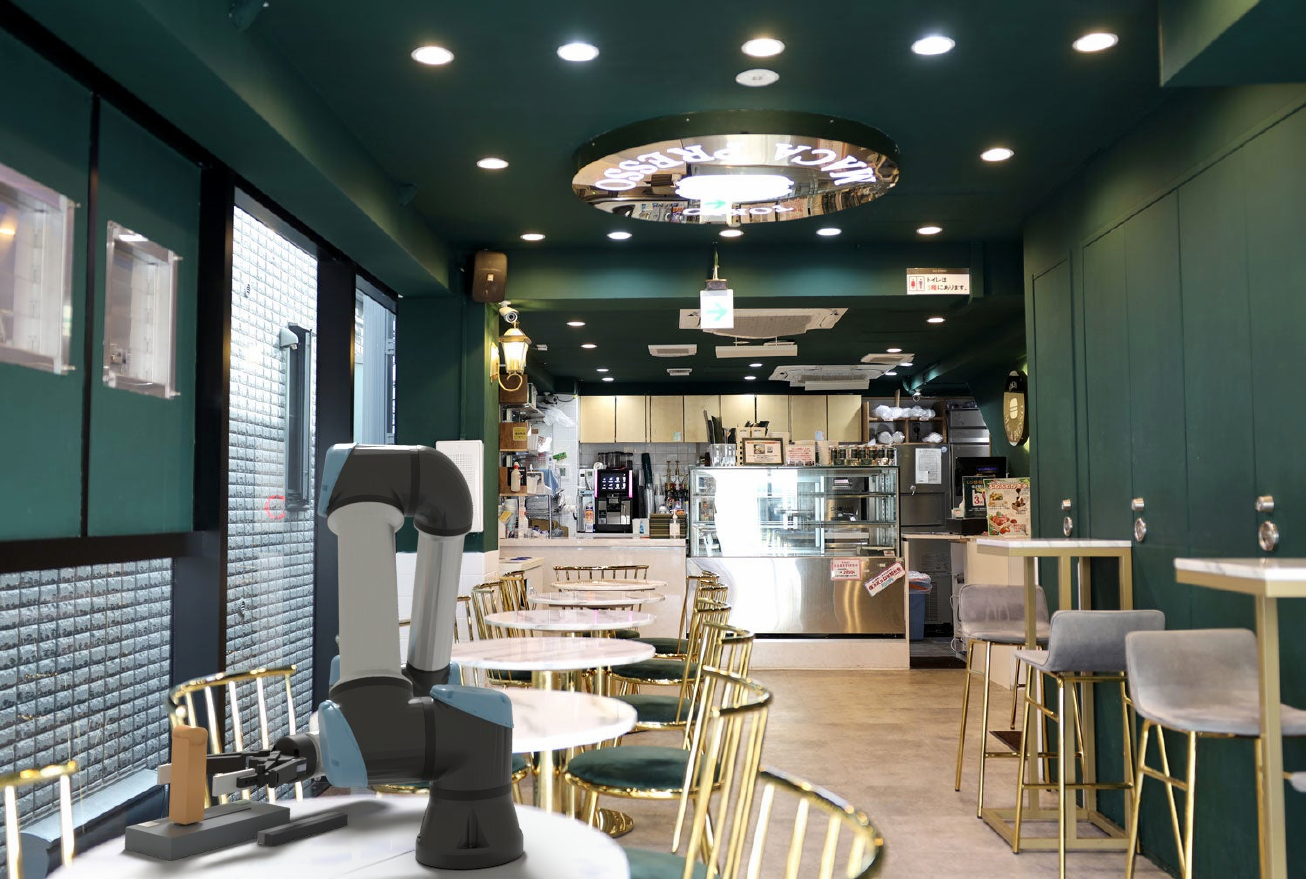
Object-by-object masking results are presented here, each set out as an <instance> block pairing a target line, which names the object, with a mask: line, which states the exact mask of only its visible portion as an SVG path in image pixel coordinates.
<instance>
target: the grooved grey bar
mask: <svg viewBox="0 0 1306 879" xmlns="http://www.w3.org/2000/svg"><path fill="white" fill-rule="evenodd" d="M348 822H349V815H348V814H347V813H344V812H336V811H330V812H325V813H323V814H318V815H315V816H311V817H308V818H304V819H300V820H296V821H292V822H290V823H288V824H285V825H281V826H277V827H274V828H270V829H266V830H262V831H259V832H258V835H257V837H256V838H257V839H256V841H257V842H256V843H257V844H260V845H263V846H264V845H265V846H268V847H272V848H273V847H276V846H279V845H283V844H286V843H289V842H293V841H297V840H301V839H303V838H307V837H310V836H314V835H317V834H321V833H325V832H328V831H331V830H335V829H339V828H342V827H345V826H348V824H349V823H348Z"/></svg>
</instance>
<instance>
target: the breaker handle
mask: <svg viewBox="0 0 1306 879" xmlns="http://www.w3.org/2000/svg"><path fill="white" fill-rule="evenodd" d="M208 739H209V732H208V730H207V729H206V728H205V727H202V726H196V725H195V726H193V725H187V724H178V725H176V726H175V727H174V728H173V729H172V732H171V740H172V741H171V762H170V764H171V782H170V783H169V784H170V785H169V786H170V788H169V804H168V806H169V808H168V810H169V811H168V817H169V821H172V822H176V823H181V824H185V825H186V824H190V823H194V822H198V821H202V820H204V809H205V806H206V805H205V804H206V803H205V802H206V781H207V780H206V779H207V774H206V758H207V755H208V754H207V752H208Z"/></svg>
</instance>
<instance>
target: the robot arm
mask: <svg viewBox="0 0 1306 879" xmlns="http://www.w3.org/2000/svg"><path fill="white" fill-rule="evenodd" d="M318 498H319V500H318V505H317V515H318V516H320V517H322V518H324V519H325V518H327V527H328V529H329V530H330V531H331V532H332V533H333V534H335V535H336V536H337V561H338V563H337V564H338V565H337V566H338V569H337V571H338V579H337V580H338V622H339V623H338V636H339V637H338V638H339V642H338V643H339V648H338V649H339V654H338V655H335V656H334V657H333V658H332V660H331V663H330V674H329V681H328V682H329V683H328V685H329V689H328V690H329V691H328V700H327V699H326V700H325V701H323V702H321V703H320V704H319V705H318V709H317V723H318V729H315V730H311V731H306V732H301V733H295V734H291V735H285V736H284V735H283V736H282V737H280V738H279V739H278V740H276V741H275V743H274V745H273V746H272V748H270V749H269V748H265V749H264V748H263V749H260V750H258V751H257V749H255V748H251V749H248V750H240V751H234V752H233V751H232V752H223V753H222V752H220V753H211V754H209V753H208V754H207V758H206V775H213V776H212V791H211V792H212V793H211V794H212V795H211V796H212V797H218V796H219V797H220V796H224V795H229V794H232V793H233V794H234V793H237V792H240V791H242V792H243V791H246V790H251V789H255V786H256V788H260V789H262V788H265V787H266V786H267V788H269V789H274V788H277V787H279V786H281V785H283V784H285V785H292V784H296V783H301V782H304V781H307V780H310V779H314V781H320V780H321V778H322V777H323V776H324V777H326V779H327V781H328V782H329V784H330V785H332V786H333V787H335V788H339V789H343V788H346V789H347V788H360V789H362V790H363V789H366V788H367V787H368V788H370V787H380V786H391V785H401V784H402V785H403V784H415V783H426V782H427V783H428V782H429V784H428V785H429V792H428V793H429V795H428V802H427V806H426V808H425V810H424V816H423V819H422V822H421V825H420V830H419V833H418V834H417V835H416V839H415V853H414V854H415V859H416V860H417V861H418V862H419V863H421V864H423V865H426V866H430V867H434V868H440V869H449V870H455V869H456V870H463V869H464V870H467V869H469V870H470V869H481V868H487V867H488V868H489V867H494V866H498V865H499V866H500V865H503V864H506V863H510V862H512V861H515V860H516V859H518V858H520V857H521V856H522V855H523V854H524V844H525V842H524V839H525V838H524V834H523V833H524V832H523V830H522V829H521V828H520V827H521V826H520V823H519V819H518V815H517V811H516V806H515V804H514V800H513V786H512V785H513V784H512V783H513V734H514V732H513V729H514V727H515V724H514V717H513V716H514V715H513V706H512V705H513V704H512V700H511V698H510V696H508V695H507V694H506V693H504V692H502V691H500V690H496V689H492V688H491V689H490V688H487V687H486V688H485V687H481V686H472V685H464V684H463V685H462V684H461V681H462V675H461V669H460V665H459V663H458V662H456V661H451V657H452V648H453V641H454V640H453V639H454V632H455V625H456V624H455V623H456V615H457V614H456V613H457V606H458V605H457V604H458V597H459V590H460V589H459V588H460V581H461V580H460V579H461V570H462V564H463V563H462V562H463V555H464V554H463V552H464V545H465V537H466V535H468V534H469V533H470V532H471V531H472V528H473V519H474V503H473V499H472V493H471V490H470V488H469V485H468V482H467V480H466V478H465V476H464V474H463V473H462V472H461V470H460V468H459V467H458V466H457V465H456V464H455V462H454V461H453V460H452V459H451V458H450V457H449V456H448V455H446V454H445V453H443V452H442V451H441V450H438V449H436V448H433V447H430V446H428V445H427V446H426V445H420V444H417V445H416V444H415V445H399V444H398V445H396V444H363V443H362V444H359V443H358V442H353V443H336V444H333V445H331V446H330V447H329V448H328V449H327V451H326V455H325V460H324V466H323V473H322V480H321V486H320V493H319V497H318ZM405 518H413V528H414V529H415V530H417V532H418V538H417V539H418V540H417V550H416V559H415V560H416V561H415V568H414V569H415V571H414V580H413V590H412V591H413V592H412V602H411V610H410V611H411V612H410V613H411V614H410V621H409V622H410V623H409V633H408V642H407V644H408V645H407V655H406V663H402V659H401V639H400V638H401V637H400V636H401V635H400V619H399V618H400V616H399V614H400V613H399V597H398V596H399V595H398V593H399V592H398V591H399V590H398V572H397V551H396V533H397V532H398V531H399V530H400V529H401V528H402V527H403V525H404V524H405ZM247 768H248V769H247ZM216 774H217V775H216ZM170 782H171V763H167V764H162V765H157V777H156V785H159V786H161V785H167V784H170Z"/></svg>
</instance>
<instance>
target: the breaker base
mask: <svg viewBox="0 0 1306 879" xmlns="http://www.w3.org/2000/svg"><path fill="white" fill-rule="evenodd" d="M288 823H291V808H290V807H289V806H288V807H287V806H282V805H278V804H272V803H267V802H262V801H258V800H253V799H248V798H247V799H246V798H243V799H240V800H233V801H231V802H226V803H222V804H221V803H220V804H218V805H213V806H208V807H206V808H205V809H204V820H202V821H198V822H194V823H190V824H186V825H185V824H181V823H176V822H172V821H169V816H167V817H163V818H158V819H155V820H150V821H145V822H142V823H141V822H140V823H138V824H133V825H129V826H125V829H124V830H125V835H124V849H125V850H128V849H130V850H129V851H132V852H135V853H141V854H144V855H148V856H151V857H154V858H155V857H156V858H159V859H162V860H167V861H174V860H178V859H181V858H185V857H188V856H193V855H196V854H200V853H203V852H207V851H210V850H214V849H218V848H221V847H225V846H228V845H232V844H236V843H240V842H244V841H247V840H251V839H255V838H257V835H258V832H259V831H262V830H266V829H270V828H274V827H277V826H281V825H285V824H288Z"/></svg>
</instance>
